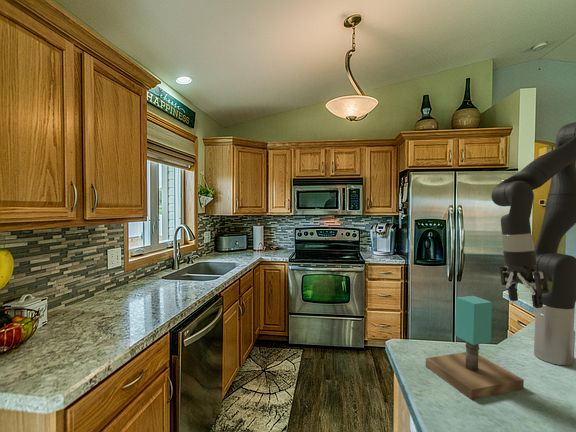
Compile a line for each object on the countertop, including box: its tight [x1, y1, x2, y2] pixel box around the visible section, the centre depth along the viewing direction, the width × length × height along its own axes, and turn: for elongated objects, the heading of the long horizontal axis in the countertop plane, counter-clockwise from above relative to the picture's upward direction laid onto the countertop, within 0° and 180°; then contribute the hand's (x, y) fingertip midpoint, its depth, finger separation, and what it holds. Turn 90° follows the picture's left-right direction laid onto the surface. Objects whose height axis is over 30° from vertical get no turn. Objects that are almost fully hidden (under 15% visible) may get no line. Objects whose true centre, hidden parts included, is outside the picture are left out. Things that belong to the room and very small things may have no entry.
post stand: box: [425, 341, 525, 400], centre depth 85 cm, size 17×16×12 cm
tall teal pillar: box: [454, 295, 493, 345], centre depth 85 cm, size 6×6×11 cm
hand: (525, 303), depth 90 cm, fingers open, 8 cm apart
